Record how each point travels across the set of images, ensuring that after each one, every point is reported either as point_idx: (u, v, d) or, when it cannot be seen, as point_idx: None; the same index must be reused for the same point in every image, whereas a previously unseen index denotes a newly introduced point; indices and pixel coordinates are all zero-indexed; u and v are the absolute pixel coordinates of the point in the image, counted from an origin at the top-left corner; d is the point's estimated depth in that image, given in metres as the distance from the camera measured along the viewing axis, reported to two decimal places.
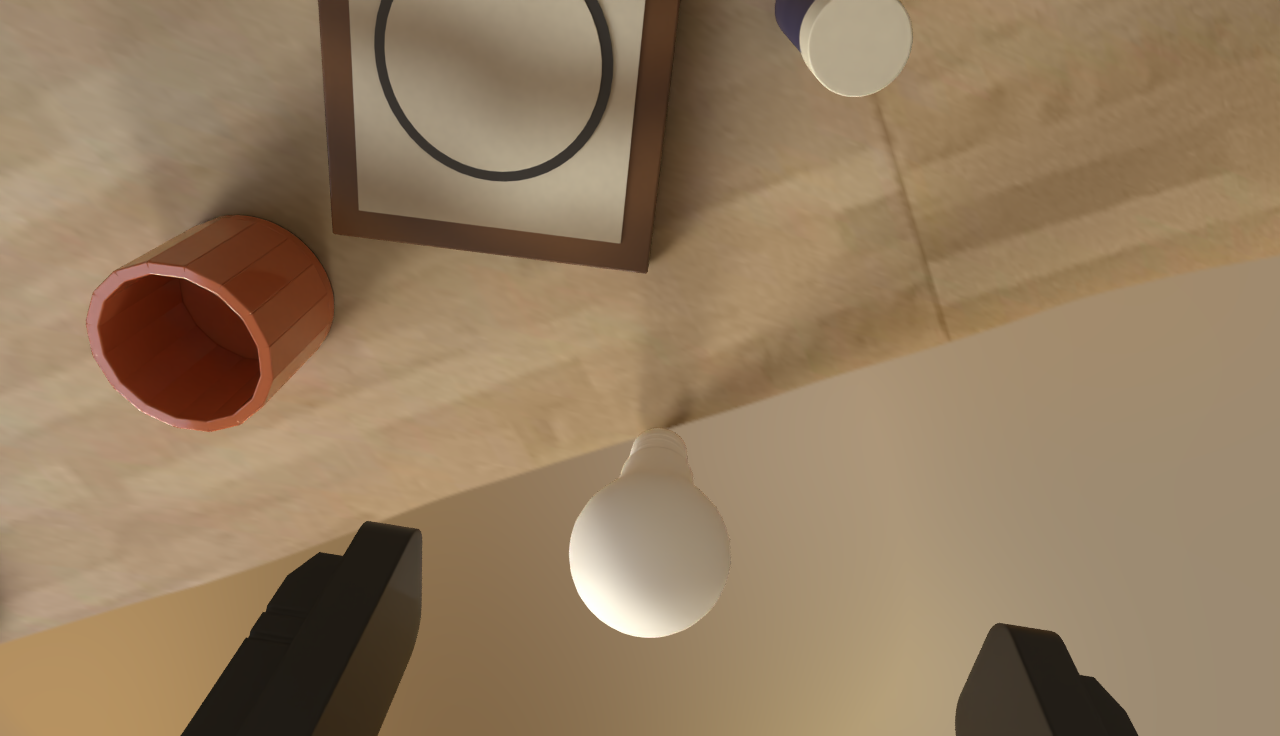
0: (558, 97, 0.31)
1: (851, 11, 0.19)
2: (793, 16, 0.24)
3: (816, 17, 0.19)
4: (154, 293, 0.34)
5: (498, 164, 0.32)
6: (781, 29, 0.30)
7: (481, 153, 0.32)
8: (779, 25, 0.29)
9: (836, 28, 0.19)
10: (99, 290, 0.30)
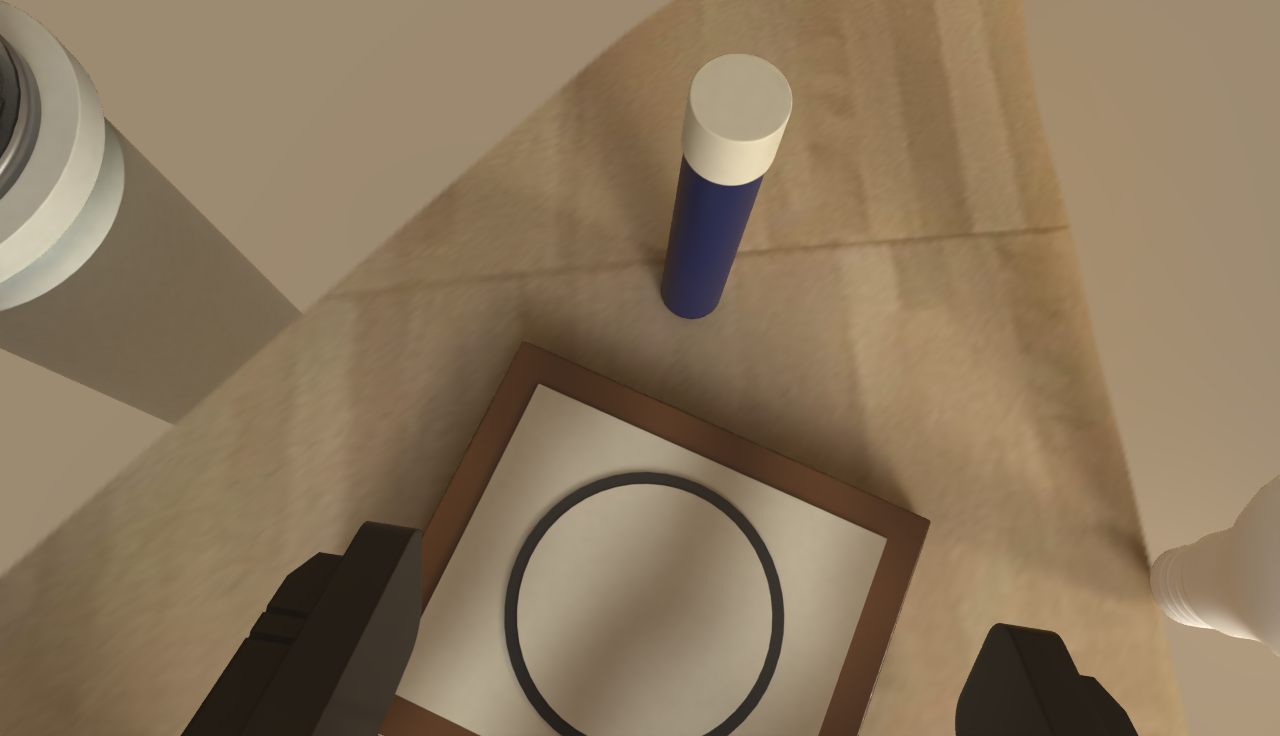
0: (703, 550, 0.27)
1: (708, 97, 0.19)
2: (696, 232, 0.24)
3: (704, 128, 0.19)
4: None
5: (758, 652, 0.26)
6: (703, 309, 0.30)
7: (740, 668, 0.26)
8: (699, 309, 0.29)
9: (720, 112, 0.19)
10: None
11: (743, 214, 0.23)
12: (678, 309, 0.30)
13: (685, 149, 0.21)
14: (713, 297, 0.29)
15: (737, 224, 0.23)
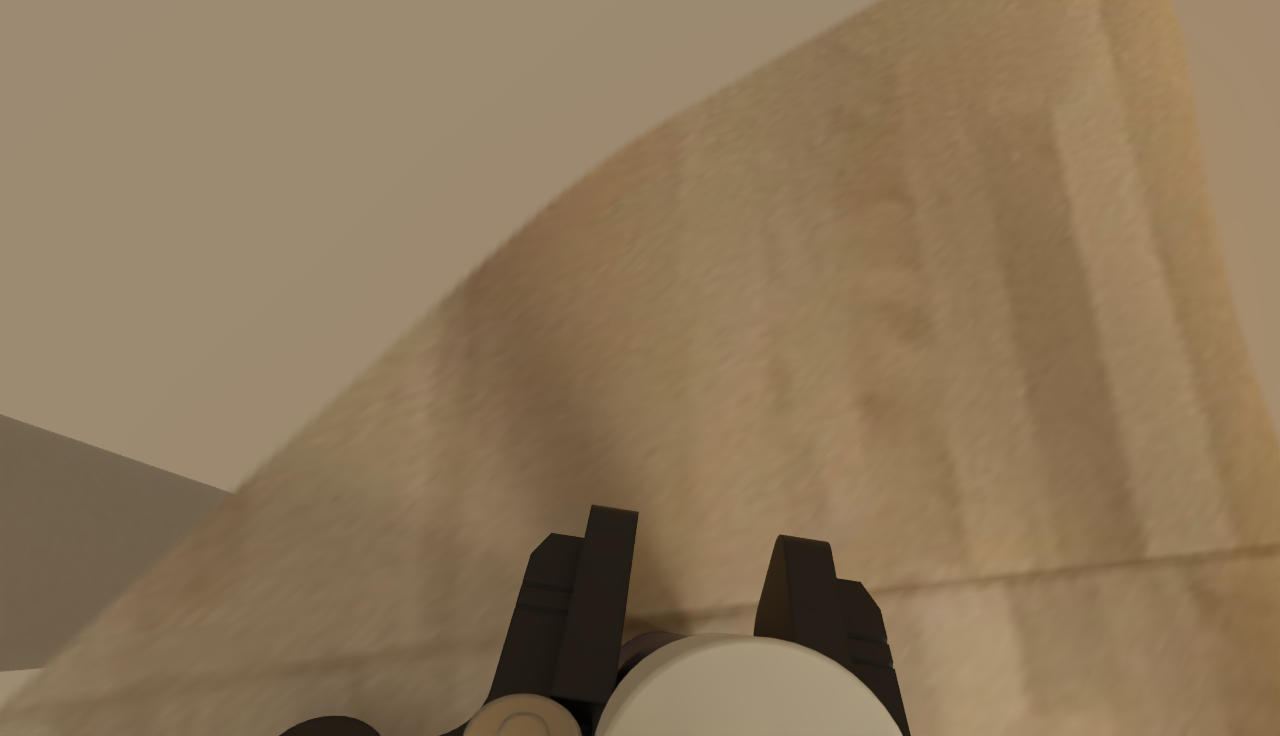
0: None
1: None
2: None
3: None
4: None
5: None
6: None
7: None
8: None
9: None
10: None
11: None
12: None
13: None
14: None
15: None
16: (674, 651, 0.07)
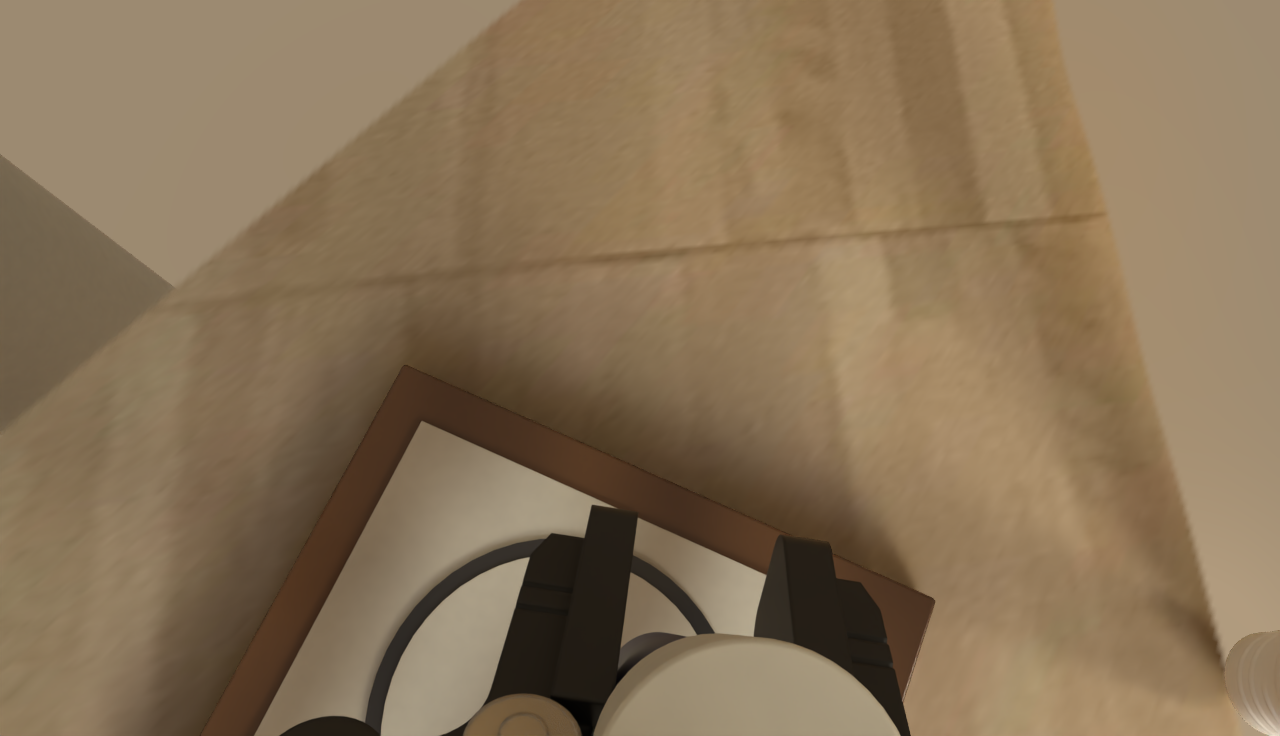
0: None
1: None
2: None
3: None
4: None
5: None
6: None
7: None
8: None
9: None
10: None
11: None
12: None
13: None
14: None
15: None
16: (672, 652, 0.07)
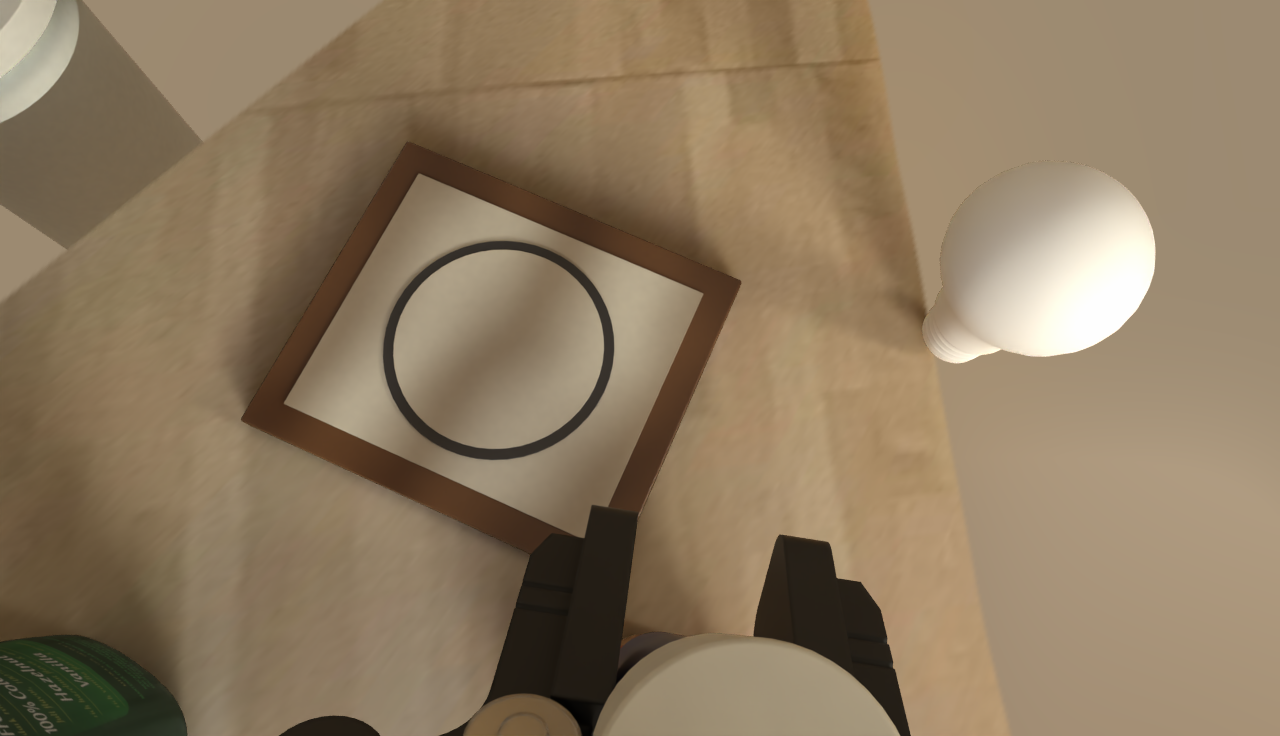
0: (550, 299, 0.33)
1: None
2: None
3: None
4: None
5: (591, 376, 0.32)
6: None
7: (575, 388, 0.32)
8: None
9: None
10: None
11: None
12: None
13: None
14: None
15: None
16: (672, 651, 0.07)
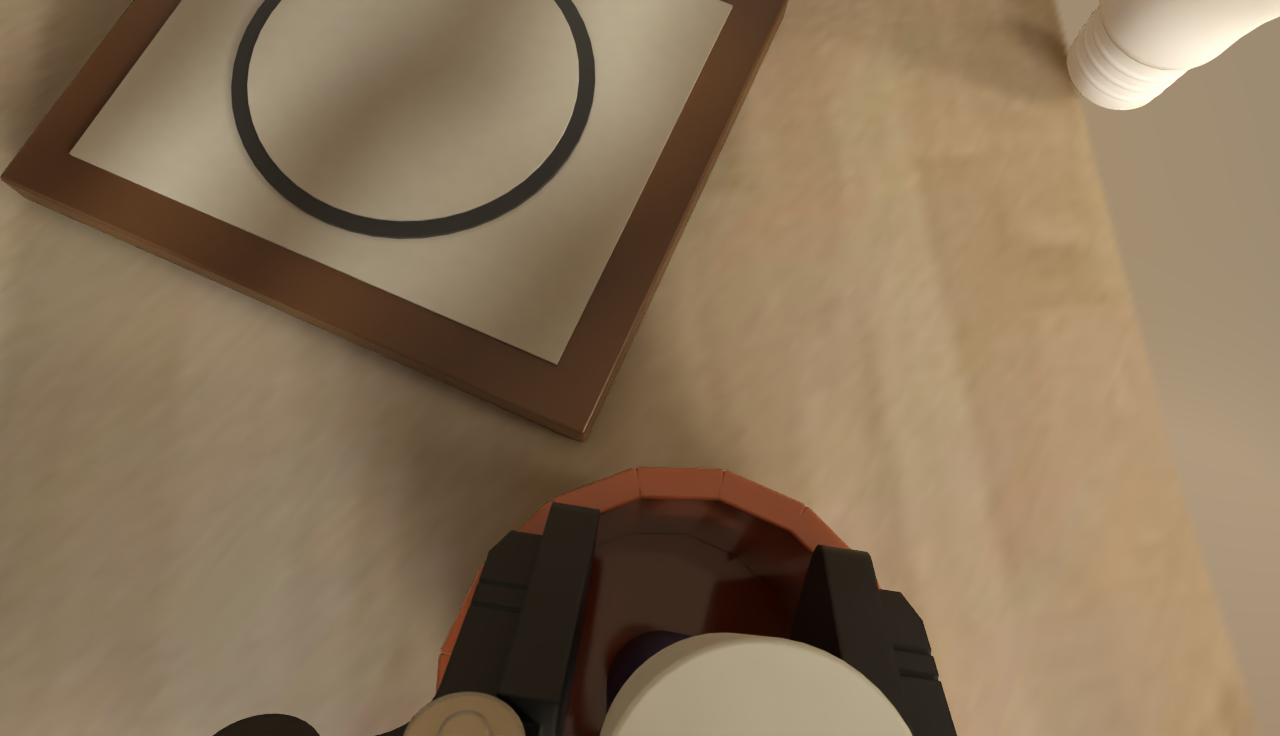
0: (495, 9, 0.21)
1: None
2: None
3: None
4: None
5: (558, 117, 0.20)
6: None
7: (533, 134, 0.20)
8: None
9: None
10: None
11: None
12: None
13: None
14: None
15: None
16: (681, 651, 0.07)
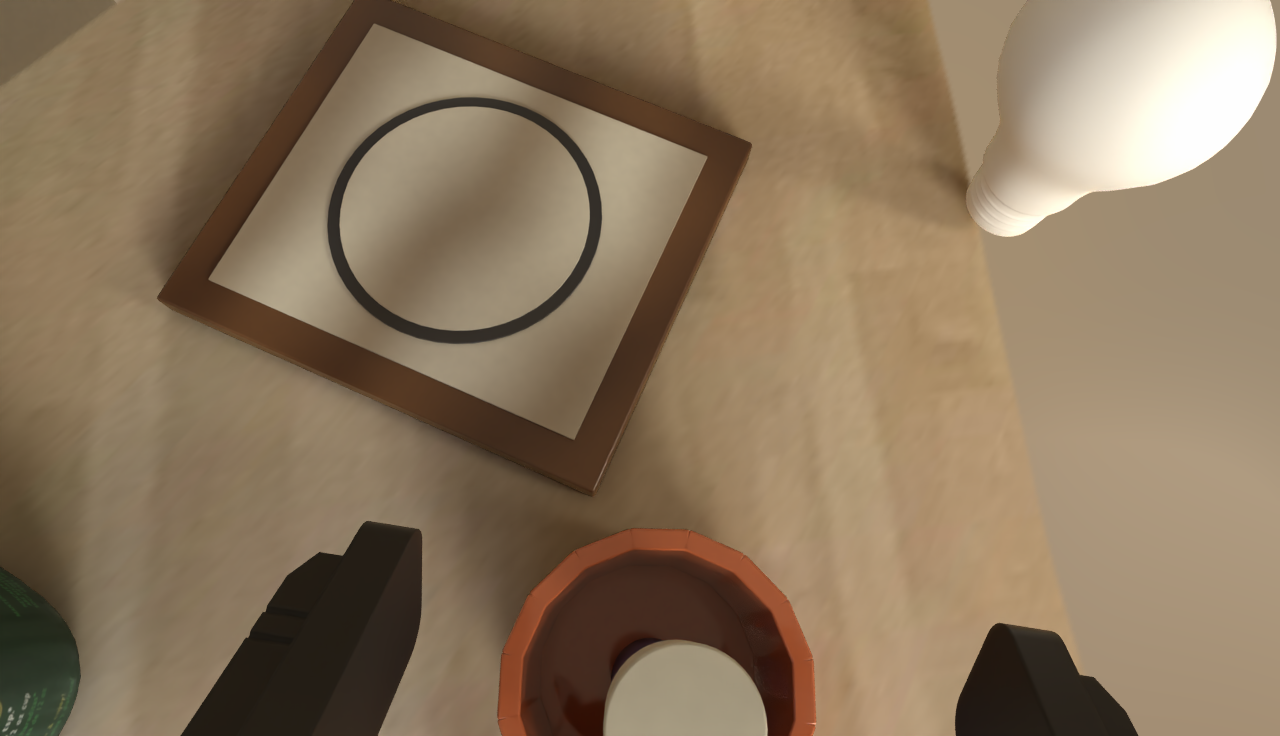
0: (526, 162, 0.28)
1: (633, 733, 0.12)
2: None
3: None
4: None
5: (574, 248, 0.27)
6: None
7: (555, 262, 0.27)
8: None
9: None
10: None
11: None
12: None
13: None
14: None
15: None
16: (647, 649, 0.13)
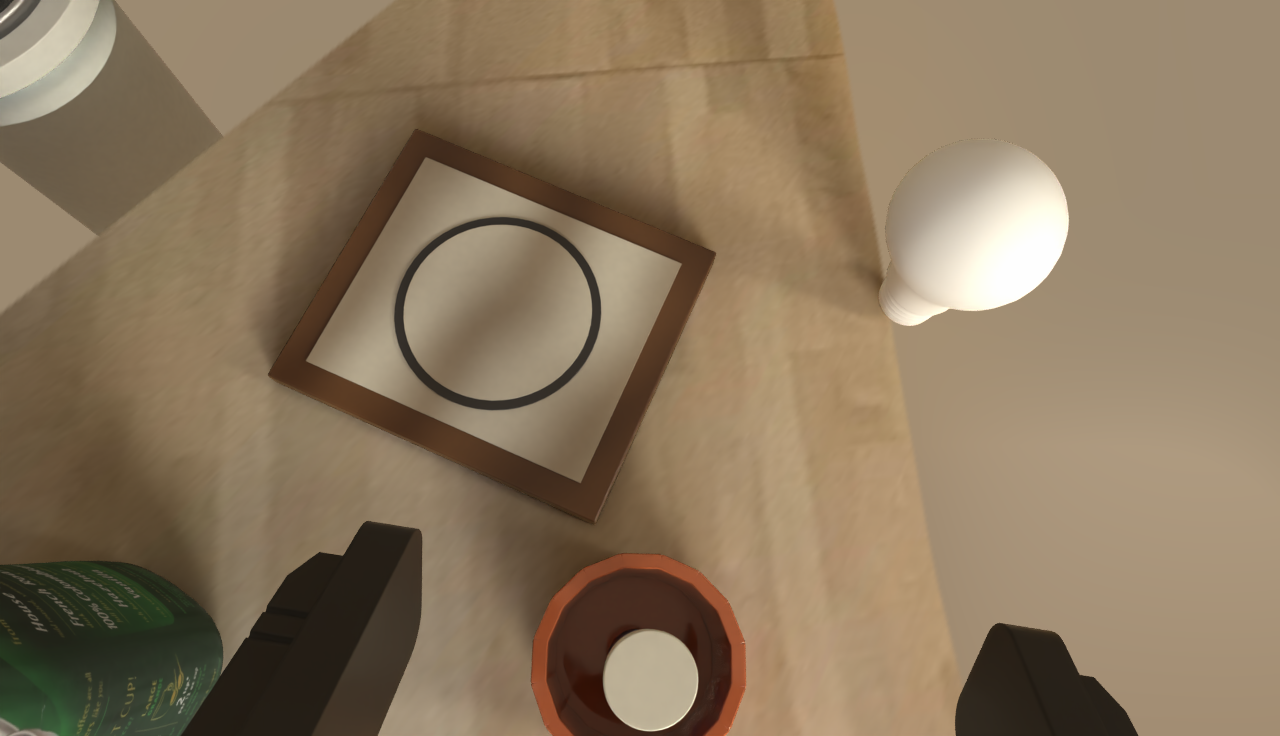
0: (543, 269, 0.36)
1: (620, 682, 0.21)
2: None
3: (616, 715, 0.21)
4: (588, 732, 0.30)
5: (580, 337, 0.35)
6: None
7: (566, 347, 0.35)
8: None
9: (631, 699, 0.21)
10: (545, 715, 0.27)
11: None
12: None
13: None
14: None
15: None
16: (629, 634, 0.22)
